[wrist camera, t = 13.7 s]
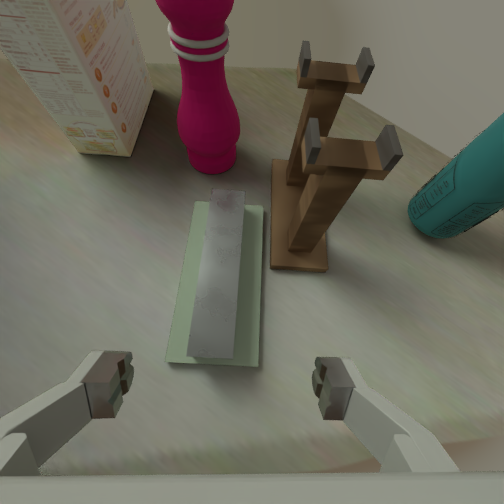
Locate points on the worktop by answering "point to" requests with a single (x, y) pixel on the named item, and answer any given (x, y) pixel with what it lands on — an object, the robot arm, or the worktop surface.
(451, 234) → the beverage bottle
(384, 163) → the stand
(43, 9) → the coffeecake box
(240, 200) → the rail
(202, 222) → the mat
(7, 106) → the worktop surface
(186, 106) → the pepper mill
